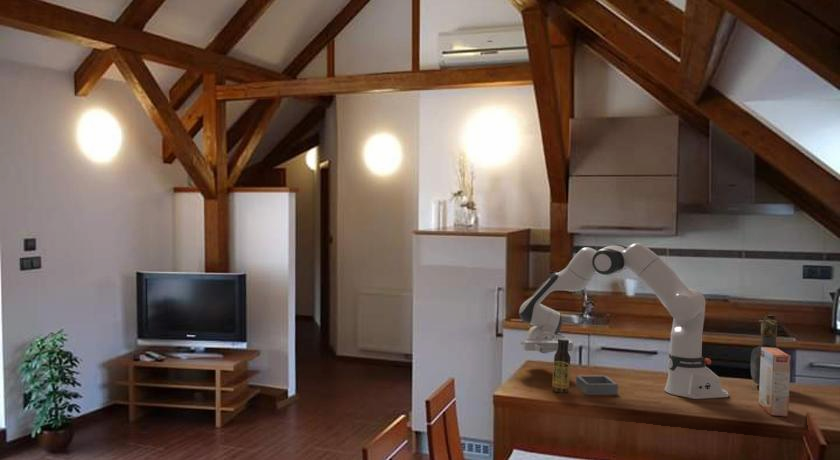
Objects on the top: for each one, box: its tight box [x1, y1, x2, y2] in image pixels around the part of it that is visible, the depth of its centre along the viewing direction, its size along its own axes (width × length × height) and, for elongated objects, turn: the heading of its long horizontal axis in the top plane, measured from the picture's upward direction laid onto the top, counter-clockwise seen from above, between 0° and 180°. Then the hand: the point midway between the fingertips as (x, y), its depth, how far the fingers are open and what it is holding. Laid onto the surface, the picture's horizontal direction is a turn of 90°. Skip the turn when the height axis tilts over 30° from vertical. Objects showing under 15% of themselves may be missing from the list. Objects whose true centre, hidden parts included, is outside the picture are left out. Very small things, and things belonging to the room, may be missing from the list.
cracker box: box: [758, 347, 792, 418], centre depth 234 cm, size 14×6×21 cm, turn 168°
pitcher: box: [750, 311, 783, 391], centre depth 263 cm, size 11×19×30 cm, turn 163°
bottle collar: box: [575, 375, 619, 396], centre depth 257 cm, size 12×13×4 cm
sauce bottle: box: [551, 337, 571, 394], centre depth 255 cm, size 7×6×20 cm
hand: (552, 349), depth 268 cm, fingers open, 8 cm apart
